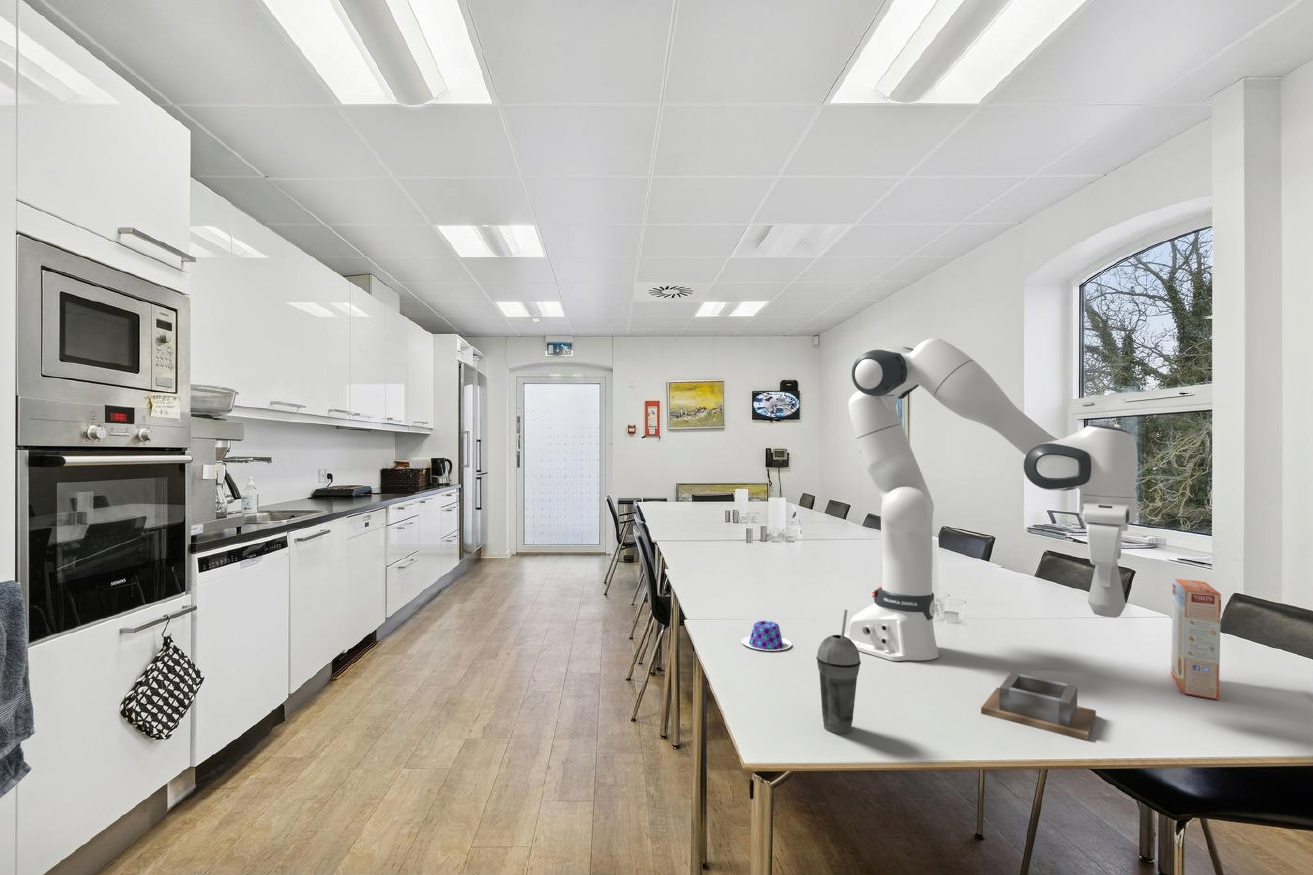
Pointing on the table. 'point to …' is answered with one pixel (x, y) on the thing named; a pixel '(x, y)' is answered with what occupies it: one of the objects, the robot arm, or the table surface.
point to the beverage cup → (838, 680)
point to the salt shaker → (1107, 594)
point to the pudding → (766, 637)
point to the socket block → (1040, 705)
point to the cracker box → (1196, 638)
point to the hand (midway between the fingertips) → (1105, 584)
